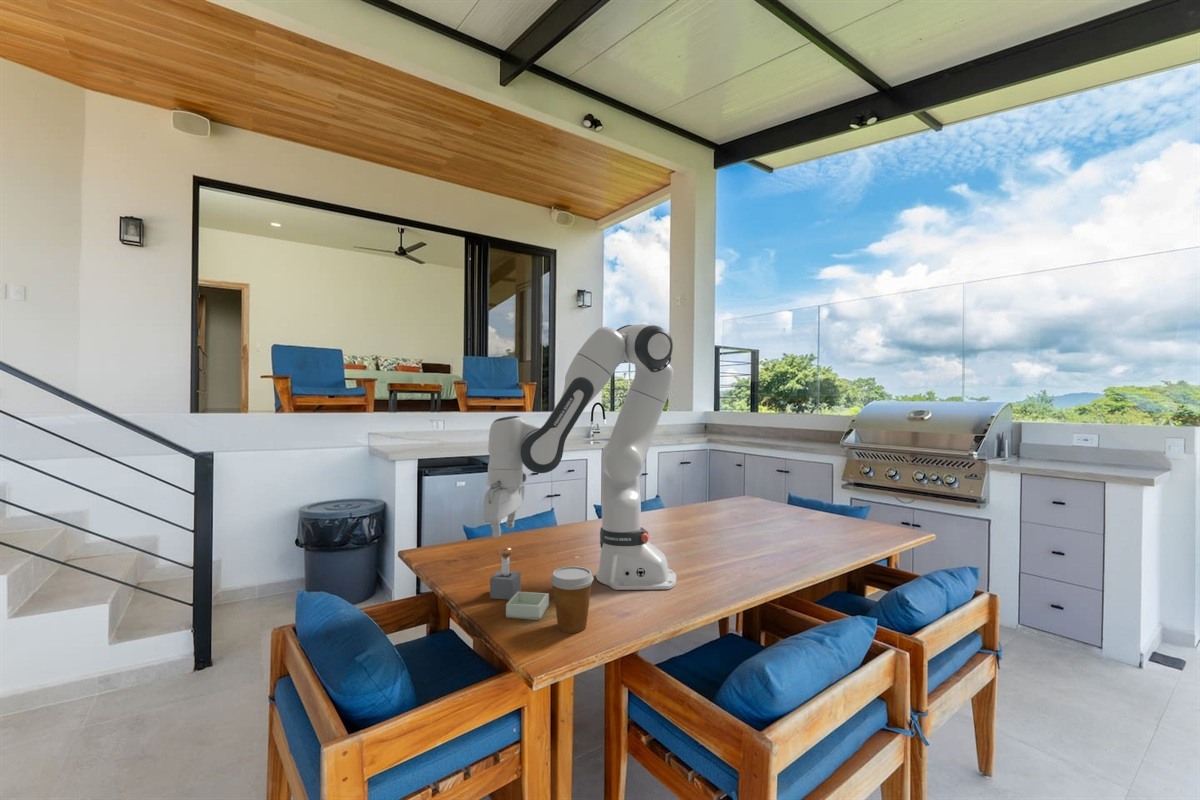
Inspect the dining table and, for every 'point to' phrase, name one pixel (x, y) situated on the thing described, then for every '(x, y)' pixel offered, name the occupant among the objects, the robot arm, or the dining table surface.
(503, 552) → the pin
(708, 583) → the dining table surface
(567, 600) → the disposable coffee cup
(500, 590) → the pin block
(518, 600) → the tray
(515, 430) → the robot arm
